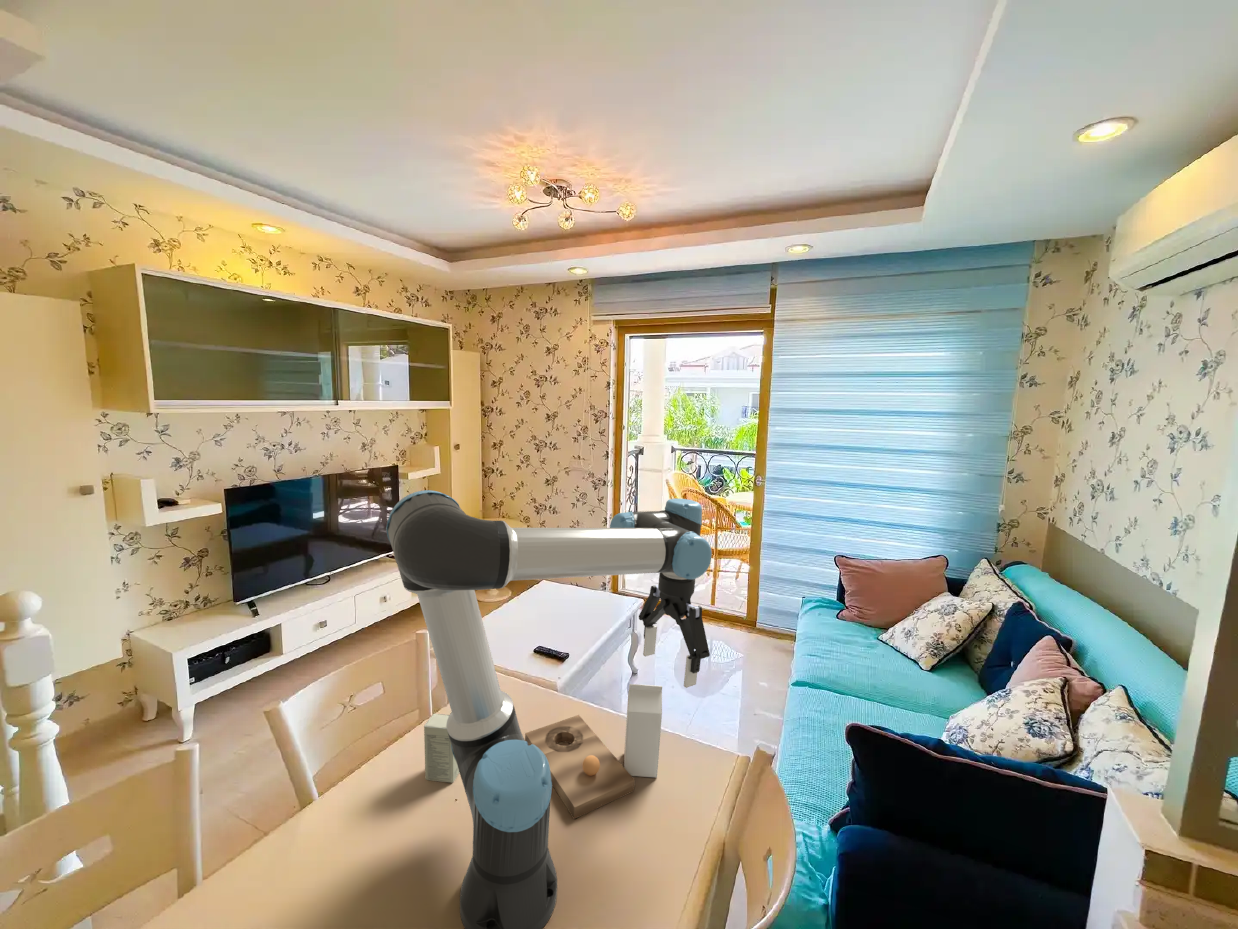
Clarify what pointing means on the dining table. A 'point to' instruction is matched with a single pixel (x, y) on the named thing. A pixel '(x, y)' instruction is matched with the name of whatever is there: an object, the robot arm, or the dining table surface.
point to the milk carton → (643, 730)
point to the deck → (580, 766)
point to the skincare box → (439, 751)
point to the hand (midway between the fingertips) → (668, 669)
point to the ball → (591, 765)
